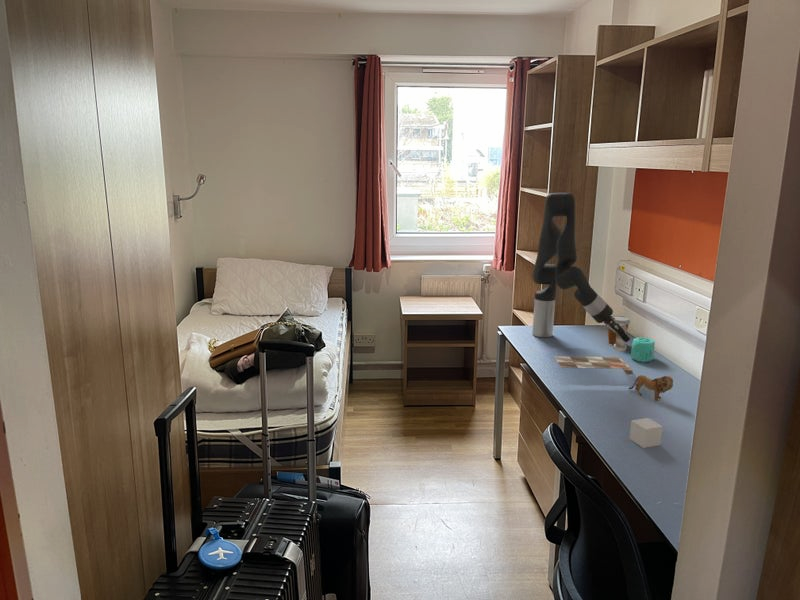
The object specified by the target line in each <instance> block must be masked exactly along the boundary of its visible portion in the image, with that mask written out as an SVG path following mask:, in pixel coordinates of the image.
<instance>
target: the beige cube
mask: <svg viewBox="0 0 800 600" xmlns="http://www.w3.org/2000/svg"><path fill="white" fill-rule="evenodd" d="M662 434H663V425H661V424H659V422H656V421H655V420H653V419H651V418H649V417H645V418H639V419H632V420H631V423H630V430H629V440H631V441H632V442H634V443H635V444H636V445H638V446H640V447H641V448H643V449H646V448H651V447H656V446H657V447H658V446H661V443H662Z"/></svg>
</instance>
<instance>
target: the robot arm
mask: <svg viewBox="0 0 800 600" xmlns="http://www.w3.org/2000/svg"><path fill="white" fill-rule="evenodd" d="M575 201H576V200H575V197H574V194H573V193H572V192H552V193H548V194H547V195H546V197H545V200H544V211H543V221H542V226H541V232H540V236H539V241H538V249H537V256H536V259H535V263H534V267H533V270H532V280H533V283H535V284H537V285H547V286H546V287H545V288H543V289H540V290H537V291H536V292H535V293H534V300H533V301H534V304H533V317H532V319H533V320H532V331H531V332H532V333H531V334H532V336H535V337H539V338H551V337H552V336H553V332H554V319H555V309H556V298H557V297H556V295H557V286H558V288H559V289H561V290H569V289H571V288H573V287H575V286H576V289H575V291H574V293H573V295H574V298H575V299H576V300H577V301H578V303H579V304H580V305H581V306H582V307H583V309H584V310H585V311H586V312H587V313H588V314H589V316H590V317H591V318H592V319H593V320H594V321H595V322H596V323H597V324H602V323H604V325H605V326H606V327H607V328H608V327H609V328H610V329H611V330H612V331H613V332H615V333H617V334H618V336H620V337H621V338H622V339H623V340H624V341H625V343H628V342H629V341H630V340H631V337H629V335H628V334H627V333H625V331H624V330H623V329H622V328H621V326H620V325H619V324H618V322H617V320H616V319H615V318H613V317H612V315H614V314H613V313H614V311H613V308H612V307H611V306H610V305H609V304H608V303H607V302H606V300H604V299H603V297H601V296H600V295H599V294H598V293H597V292H596V291H595V290H594V288H592V287H591V285H590V283H589V281H588V279H587V277H586V275H585V273H584V271H583V269H581V268H579V267H578V266H575V265H574V264H575V263H576V262H577V260H578V259H577V257H578V256H577V249H576V236H575V235H576V234H575V231H576V202H575ZM554 217H566V220H565V221H566V222H565V224H564V227H563V228H562V231H561V229H560V227H558V226H557V224H556V223H555V220H554V219H553V218H554ZM556 256H557V263H556V264H555V263H554V264H553V263H551V264H550V263H548V261H550V260H551V259H553V258H554V257H556ZM573 265H574V266H573Z"/></svg>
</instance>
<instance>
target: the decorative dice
mask: <svg viewBox="0 0 800 600" xmlns="http://www.w3.org/2000/svg"><path fill="white" fill-rule="evenodd" d="M654 352H655V341H654V340H653V339H651V338H648V337H635V338H633V340H632V344H631V351H630V358H631V359H632V360H634V361H637V362H640V361H641V363H648V362H652V361H653V358H654Z"/></svg>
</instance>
